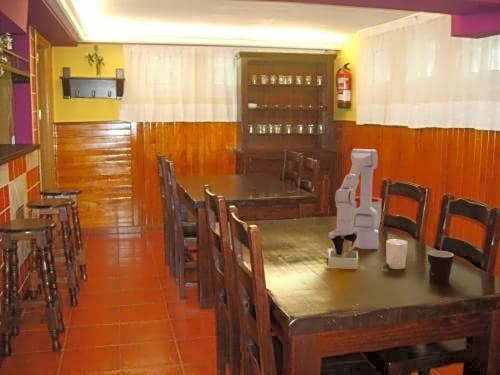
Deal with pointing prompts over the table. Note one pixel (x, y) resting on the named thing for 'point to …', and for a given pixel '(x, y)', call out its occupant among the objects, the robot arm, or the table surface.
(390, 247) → the white cup
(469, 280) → the table surface
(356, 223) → the robot arm
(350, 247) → the socket block
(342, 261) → the bin
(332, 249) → the stud plate
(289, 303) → the table surface
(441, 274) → the coffee mug
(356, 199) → the citrus juicer
